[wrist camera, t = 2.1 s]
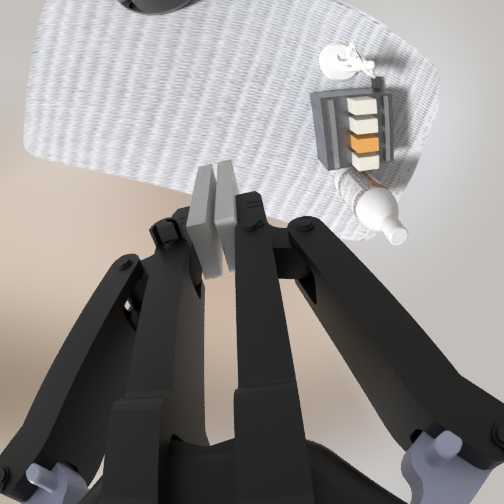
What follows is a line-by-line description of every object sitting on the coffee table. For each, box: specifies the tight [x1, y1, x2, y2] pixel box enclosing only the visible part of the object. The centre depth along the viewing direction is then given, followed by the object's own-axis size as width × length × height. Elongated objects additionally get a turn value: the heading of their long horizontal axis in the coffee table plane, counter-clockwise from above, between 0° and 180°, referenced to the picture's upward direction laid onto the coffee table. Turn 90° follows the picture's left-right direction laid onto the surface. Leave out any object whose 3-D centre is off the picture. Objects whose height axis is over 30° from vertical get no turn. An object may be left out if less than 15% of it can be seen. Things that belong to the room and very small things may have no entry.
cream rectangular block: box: [347, 96, 377, 115], centre depth 40 cm, size 2×4×3 cm, turn 101°
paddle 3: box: [350, 133, 379, 153], centre depth 43 cm, size 2×4×3 cm, turn 101°
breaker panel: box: [310, 88, 394, 171], centre depth 46 cm, size 12×12×7 cm
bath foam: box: [335, 167, 408, 245], centre depth 47 cm, size 7×7×20 cm
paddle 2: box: [349, 114, 378, 135], centre depth 41 cm, size 2×4×3 cm, turn 101°
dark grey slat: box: [371, 77, 381, 89], centre depth 48 cm, size 16×1×1 cm, turn 11°
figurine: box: [320, 42, 376, 82], centre depth 37 cm, size 7×7×12 cm
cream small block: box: [352, 151, 379, 171], centre depth 45 cm, size 2×4×3 cm, turn 101°
